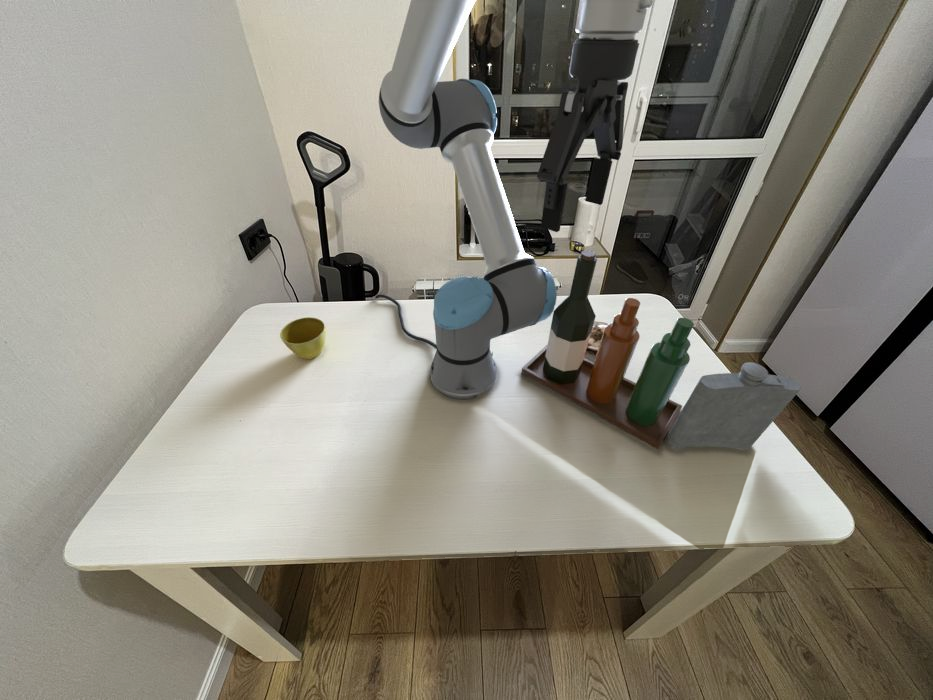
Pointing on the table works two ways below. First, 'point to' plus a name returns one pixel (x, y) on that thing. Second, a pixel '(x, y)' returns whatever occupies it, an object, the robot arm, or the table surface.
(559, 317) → the wine bottle
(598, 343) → the bowl of food
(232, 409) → the table surface
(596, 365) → the amber bottle
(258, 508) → the table surface
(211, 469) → the table surface
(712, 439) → the hip flask
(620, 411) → the tray
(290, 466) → the table surface
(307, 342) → the flower pot
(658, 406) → the green bottle
